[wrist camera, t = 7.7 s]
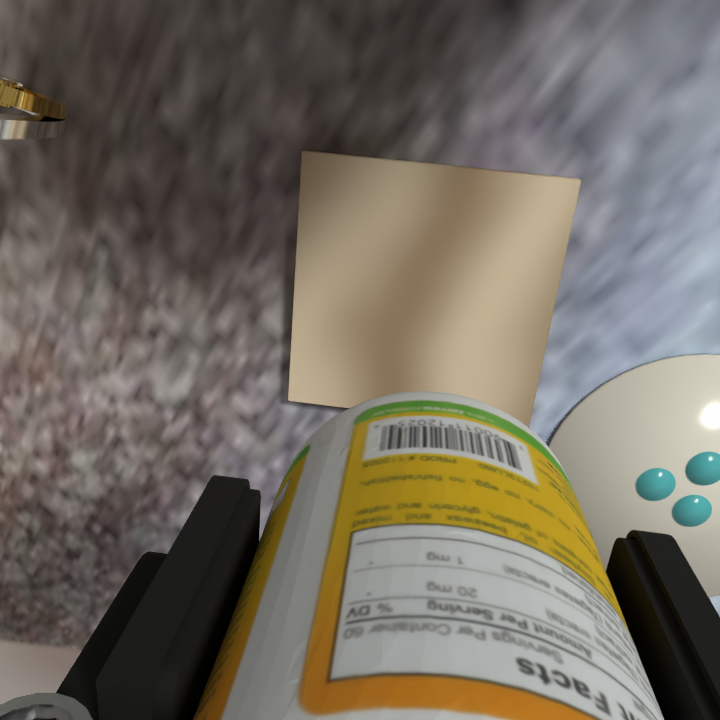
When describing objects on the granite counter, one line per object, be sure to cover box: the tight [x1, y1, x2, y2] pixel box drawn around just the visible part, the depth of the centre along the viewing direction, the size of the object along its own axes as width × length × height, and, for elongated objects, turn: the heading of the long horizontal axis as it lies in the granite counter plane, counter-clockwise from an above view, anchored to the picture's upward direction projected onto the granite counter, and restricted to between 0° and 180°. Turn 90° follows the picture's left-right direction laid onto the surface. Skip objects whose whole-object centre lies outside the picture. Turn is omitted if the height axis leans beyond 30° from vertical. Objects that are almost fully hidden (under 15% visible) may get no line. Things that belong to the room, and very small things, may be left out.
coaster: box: [548, 354, 720, 597], centre depth 28 cm, size 12×12×1 cm
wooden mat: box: [288, 150, 581, 428], centre depth 25 cm, size 10×10×1 cm
